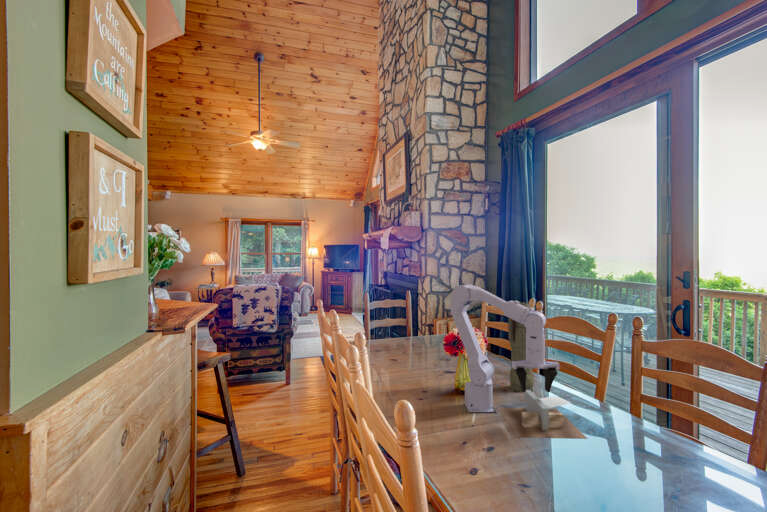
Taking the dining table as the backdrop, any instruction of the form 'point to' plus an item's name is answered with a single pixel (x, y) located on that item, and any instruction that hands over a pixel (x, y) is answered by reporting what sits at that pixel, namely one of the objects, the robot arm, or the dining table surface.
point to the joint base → (539, 432)
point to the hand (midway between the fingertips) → (535, 390)
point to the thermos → (519, 352)
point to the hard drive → (554, 401)
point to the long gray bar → (537, 408)
